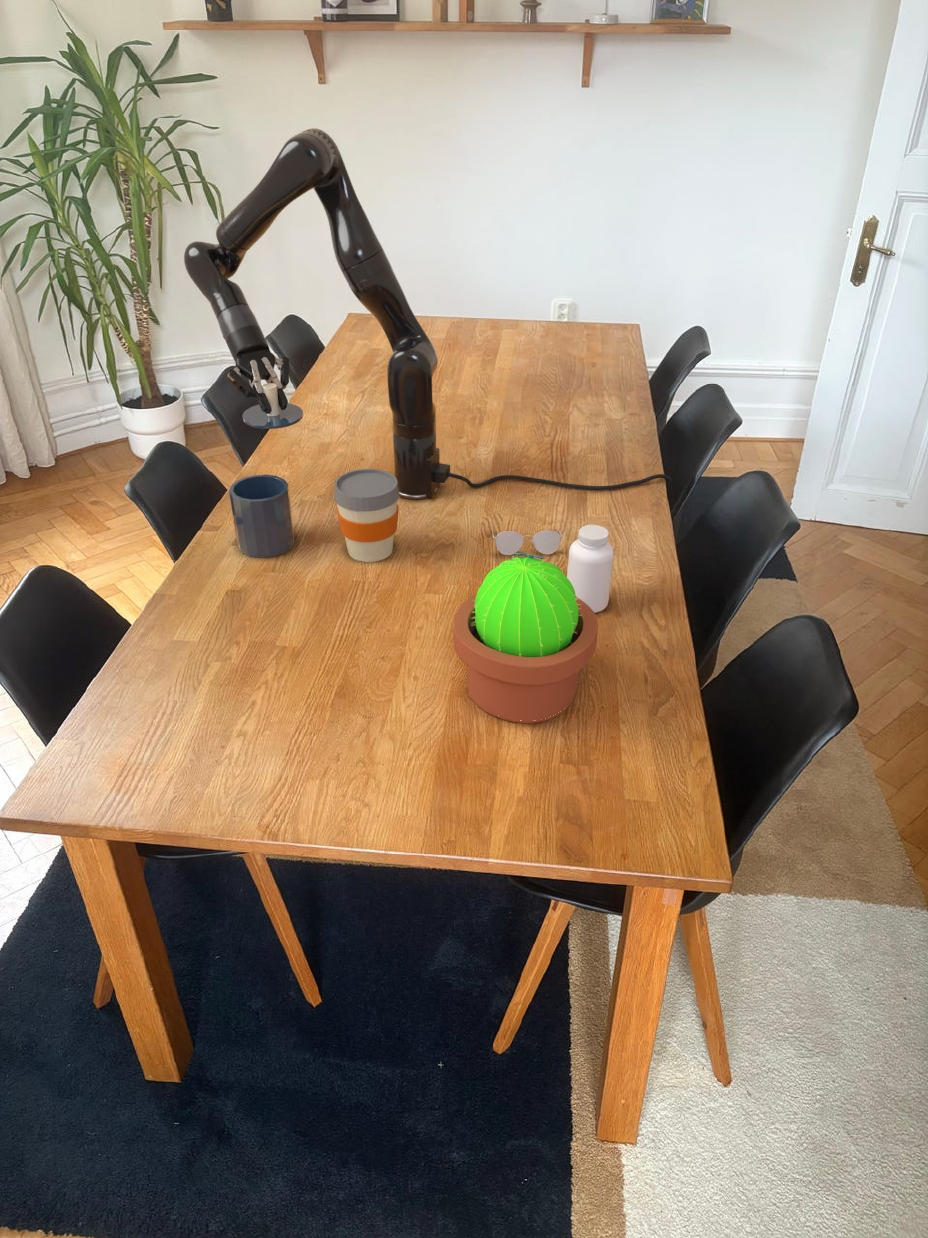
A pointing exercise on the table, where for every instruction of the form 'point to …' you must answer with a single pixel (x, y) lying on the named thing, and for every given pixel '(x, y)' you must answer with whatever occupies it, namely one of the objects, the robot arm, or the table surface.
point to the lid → (272, 412)
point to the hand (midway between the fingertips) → (276, 409)
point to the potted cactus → (524, 640)
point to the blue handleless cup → (262, 515)
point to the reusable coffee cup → (367, 512)
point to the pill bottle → (591, 566)
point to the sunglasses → (542, 541)
